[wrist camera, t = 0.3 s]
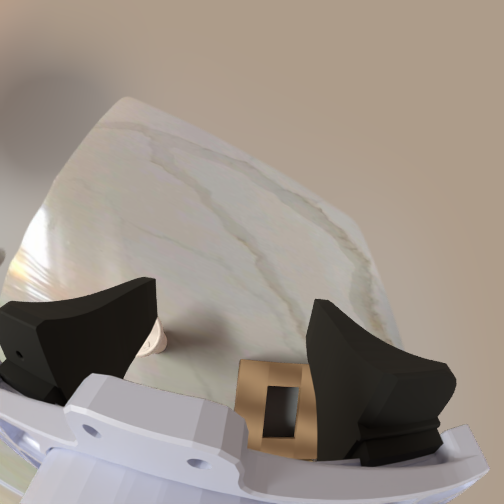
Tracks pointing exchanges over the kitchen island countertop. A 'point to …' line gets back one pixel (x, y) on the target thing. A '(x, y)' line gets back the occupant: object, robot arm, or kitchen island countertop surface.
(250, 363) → the brown rectangular hollow block
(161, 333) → the smoothie
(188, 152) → the kitchen island countertop surface
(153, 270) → the kitchen island countertop surface
